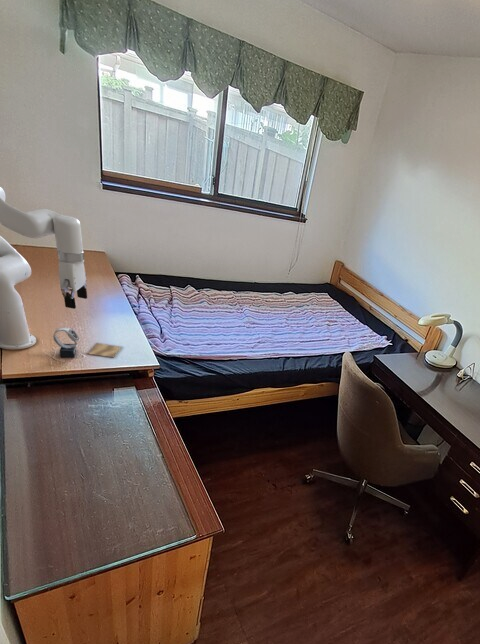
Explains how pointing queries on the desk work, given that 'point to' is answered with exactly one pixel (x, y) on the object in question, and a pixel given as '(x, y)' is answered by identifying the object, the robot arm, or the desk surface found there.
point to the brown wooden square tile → (104, 350)
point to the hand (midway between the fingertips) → (76, 302)
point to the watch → (67, 349)
